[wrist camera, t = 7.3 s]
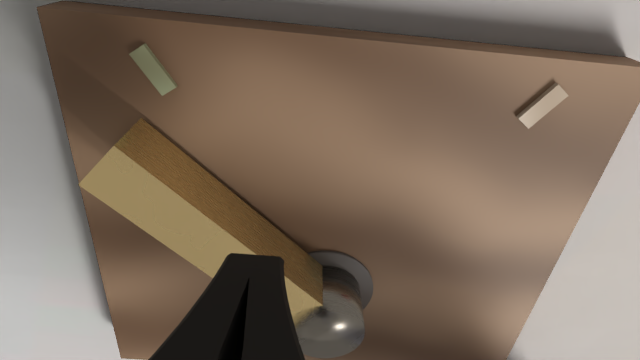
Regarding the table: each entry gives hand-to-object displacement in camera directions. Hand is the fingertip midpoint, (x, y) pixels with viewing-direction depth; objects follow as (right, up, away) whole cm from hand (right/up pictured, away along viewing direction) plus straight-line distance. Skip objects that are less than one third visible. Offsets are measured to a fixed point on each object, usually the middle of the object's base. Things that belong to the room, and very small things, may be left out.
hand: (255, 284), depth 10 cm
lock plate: (+2, +1, +8) cm, 9 cm away
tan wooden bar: (-1, 0, +6) cm, 6 cm away
